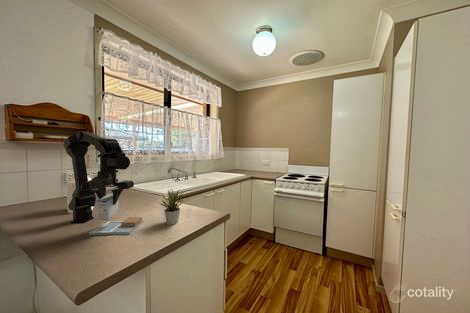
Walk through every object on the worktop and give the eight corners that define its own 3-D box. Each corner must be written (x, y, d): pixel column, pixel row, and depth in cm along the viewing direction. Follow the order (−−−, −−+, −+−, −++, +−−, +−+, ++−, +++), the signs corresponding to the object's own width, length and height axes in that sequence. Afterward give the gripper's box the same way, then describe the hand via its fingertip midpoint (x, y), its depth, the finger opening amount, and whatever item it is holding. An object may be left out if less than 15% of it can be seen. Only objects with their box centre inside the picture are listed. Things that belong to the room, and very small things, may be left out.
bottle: (63, 210, 103) (62, 165, 102) (89, 205, 113) (88, 164, 112) (71, 215, 97) (70, 167, 96) (98, 208, 107) (97, 165, 106)
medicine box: (110, 212, 84) (108, 193, 83) (120, 212, 84) (118, 193, 83) (97, 220, 76) (95, 200, 75) (109, 220, 76) (107, 200, 75)
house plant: (196, 220, 91) (196, 187, 90) (175, 231, 78) (175, 193, 78) (175, 215, 97) (175, 184, 97) (152, 224, 85) (152, 189, 84)
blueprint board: (88, 235, 74) (87, 227, 74) (108, 222, 87) (108, 216, 87) (128, 234, 75) (128, 227, 75) (143, 222, 87) (142, 216, 87)
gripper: (69, 170, 71) (70, 210, 71) (119, 170, 71) (120, 211, 72) (91, 167, 82) (91, 202, 82) (134, 167, 82) (134, 202, 83)
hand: (108, 204), depth 80 cm, fingers closed on medicine box, 4 cm apart
